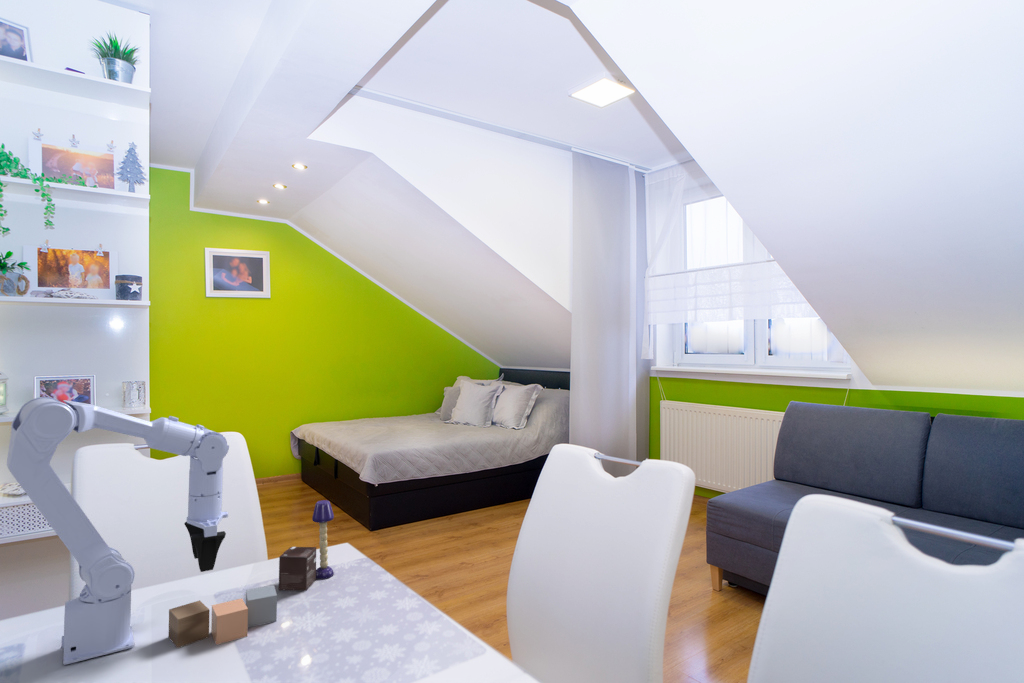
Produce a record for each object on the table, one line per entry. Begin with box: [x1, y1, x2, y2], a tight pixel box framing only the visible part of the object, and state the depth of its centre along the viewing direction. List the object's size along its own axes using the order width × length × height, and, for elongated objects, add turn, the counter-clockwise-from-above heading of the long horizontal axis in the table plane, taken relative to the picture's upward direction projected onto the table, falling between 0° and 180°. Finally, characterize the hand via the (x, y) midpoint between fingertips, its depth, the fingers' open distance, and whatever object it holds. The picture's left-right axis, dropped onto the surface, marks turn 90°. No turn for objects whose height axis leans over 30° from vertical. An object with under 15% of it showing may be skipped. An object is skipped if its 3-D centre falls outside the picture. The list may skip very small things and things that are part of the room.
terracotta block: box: [210, 597, 249, 645], centre depth 101 cm, size 5×5×5 cm
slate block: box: [245, 584, 278, 628], centre depth 107 cm, size 5×5×5 cm
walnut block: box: [168, 600, 210, 649], centre depth 100 cm, size 5×5×5 cm
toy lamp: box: [311, 499, 335, 580], centre depth 127 cm, size 5×5×17 cm
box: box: [278, 546, 317, 592], centre depth 122 cm, size 6×6×7 cm
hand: (203, 563), depth 108 cm, fingers open, 7 cm apart
